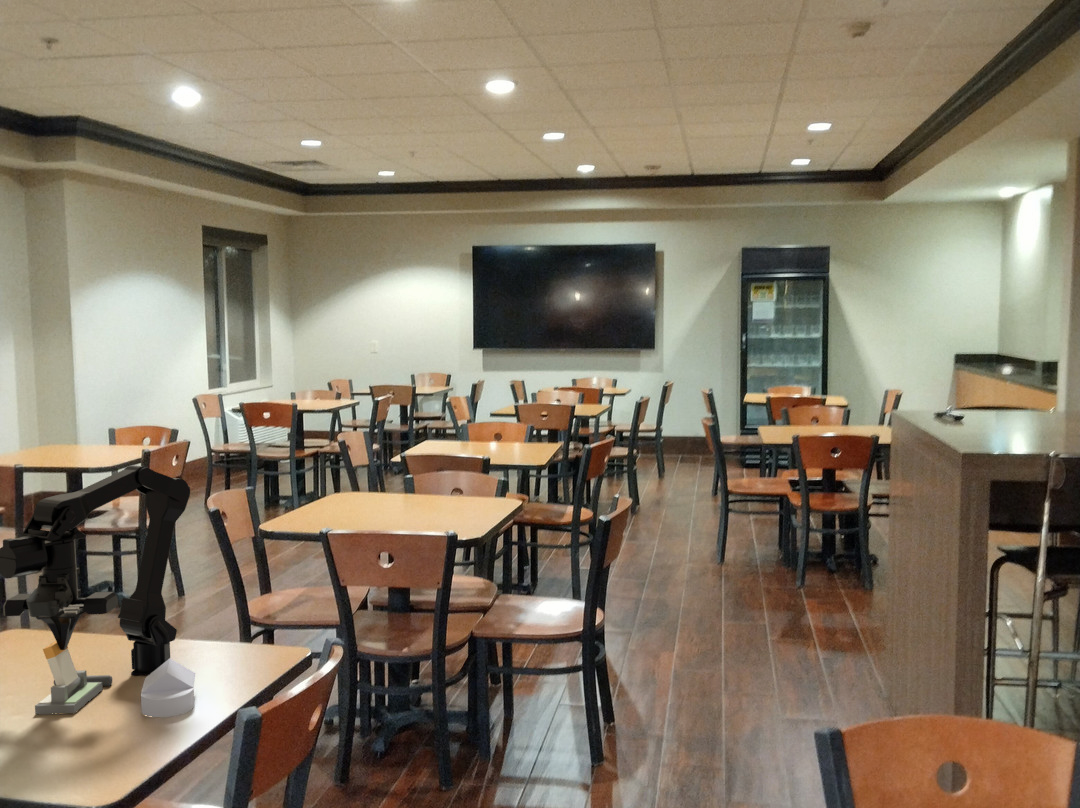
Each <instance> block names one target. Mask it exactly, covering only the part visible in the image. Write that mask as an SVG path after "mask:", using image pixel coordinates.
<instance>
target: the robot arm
mask: <svg viewBox="0 0 1080 808" xmlns="http://www.w3.org/2000/svg"><path fill="white" fill-rule="evenodd" d="M135 490H136V491H137V492H138V493H141V494H142V495H145V503H144V504H145V509H146V511H147V514H148V519H149V522H148V527H147V532H146V535H145V541H144V547H143V551H142V556H141V561H140V567H139V571H138V578H137V582H136V586H135V589H134V591H133V592H132V594H131V595H130V596H129V597H123V598H122V600H121V603H120V604H121V605H120V611H119V614H118V615H117V619H119V628H120V629H121V630H122V631H123V633H125V635H126V638H127V640H128V641H132V645H133V647H132V649H131V650H130V653H131V654H130V659H131V660H130V661H131V670H132V671H131V672H130V675H131V676H148V675H150V674H151V673H152V672H153V671H155V670H156V669H157V668H158V667H160V666H161V665H162V664H163V663H164V662H166V661H167V660H168V659H169V658H170V659H171V642H173V641H175V640H176V637H177V632H178V630H177V628H176V627H175V626H173V625H172V624H171V623H169V622H168V621H167V620H166V615H167V614H166V613H167V611H166V610H167V609H166V608H167V607H166V604H165V601H164V598H163V593H162V592H163V587H164V582H165V576H166V570H167V565H168V560H169V556H170V551H171V545H172V540H173V535H174V530H175V526H176V522H177V520H179V518H180V517H181V516H182V514H183V513H184V512H185V511H186V509H187V505H188V503H189V499H190V497H191V487H190V486H189V484H188V482H187V481H186V480H185V479H183V478H178V477H177V478H176V477H170V476H168V475H166V474H163V473H160V472H157V471H155V470H153V469H151V468H149V467H148V466H144V465H134V464H133V465H128V466H127V467H124V469H122V470H120V471H118V472H116V473H113V474H112V475H109V476H107V477H105V478H103V479H101V480H99V481H97V482H94V483H92V484H90V485H89V486H86V487H84V488H82V489H79V490H77V491H74V492H68V493H62V494H60V493H59V494H57V495H52V496H48V497H45V498H42V499H40V500H39V501H38V502H37V503H36V504H35V508H34V510H33V514H32V516H31V518H30V519H29V521H28V522H27V524H26V525H25V527H24V529H23V531H22V533H21V535H20V537H16V538H12V537H11V538H6V539H3V540H2V546H1V548H0V575H1V576H2V577H3V578H5V579H12V578H17V577H20V576H25V575H29V574H33V573H38V572H40V571H41V573H42V574H39V575H38V580H37V581H38V585H37V588H35V589H33V591H32V592H31V593H18V594H16V595H14V596H12V597H10V598H8V599H6V600H5V602H4V603H3V606H2V611H3V616H4V617H20V616H22V614H24V612H26V610H28V612H29V616H30V617H31V618H35V619H36V620H40V621H43V622H44V623H45V624H46V625H47V626H48V628H49V629H50V631H51V633H52V635H53V638H54V640H55V641H57V643H58V646H59V648H60V650H65V649H66V648H67V646H69V643H70V640H71V638H72V635H73V632H74V630H75V627H76V626H77V623H78V621H79V619H80V617H81V615H84V614H85V613H86V615H104V614H107V613H110V611H112V610H114V609H115V608H116V607H118V606H119V601H118V600H119V599H118V598H119V597H118V596H117V594H116V593H115V592H114V591H100V592H99V591H98V592H96V591H95V592H94V593H92V594H90V595H89V596H87V597H80V596H81V595H82V590H81V589H78V575H79V574H80V573H81V571H80V570H81V568H80V567H77V552H76V551H77V550H76V540H77V541H78V540H82V539H85V538H87V534H86V533H84V532H82V531H81V530H80V529H79V528H78V526H79V525H80V524H82V523H83V522H84V521H86V519H87V518H89V515H90V514H91V513H92V512H94V511H95V510H97V509H98V508H101V507H103V506H105V505H106V504H109V503H111V502H113V501H114V500H118V499H119V498H121V497H123V496H125V495H127V494H129V493H131V492H133V491H135Z"/></svg>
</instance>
